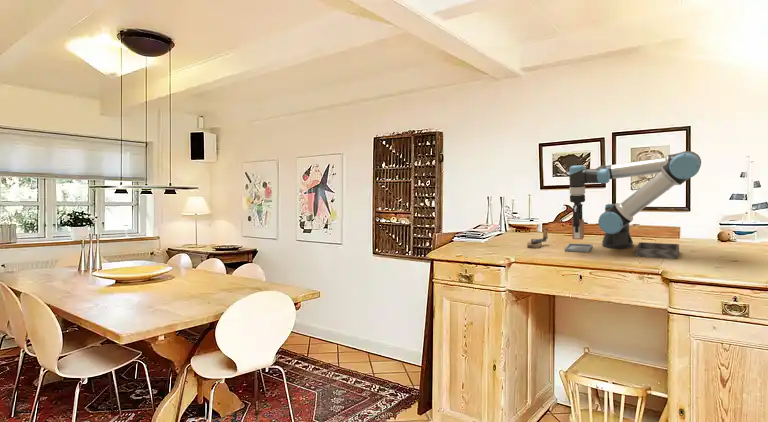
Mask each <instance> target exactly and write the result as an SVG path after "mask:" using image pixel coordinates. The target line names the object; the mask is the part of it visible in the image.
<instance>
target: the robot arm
mask: <svg viewBox="0 0 768 422" xmlns="http://www.w3.org/2000/svg"><path fill="white" fill-rule="evenodd" d="M701 167H702V159H701V156H699V155H698V154H697V153H696V152H694V151H691V150H686V151H681V152H676V153H674V154H667V155H666V156H664V157H659V158H652V159H651V158H650V159H645V160H639V161H631V162H630V161H629V162H624V163H623V162H621V163H617V164H610V165H605V164H604V165H600V166H598V167H596V168H585V166H584V165H582V164H581V165H580V164H579V165H571V166H570V167H569V170H568V171H569V174H568V176H569V177H568V178H569V188H568V190H569V202H571V203H574V204H573V206H572V221H573V226H574V238H580V226H579V219H584V217H583V203H584V202H586V196H585V194H586V184H601V185H602V184H609V182H610V180H615V179H623V178H630V177H639V176H648V175H655V176H654V177H652V178H651V179H650V180H649V181H648V182H646V183H645V184H644V185H642V186H641V187H640V188H639V189H638V190H636V191H634V193H632V194H631V195H630V196H628V197H627V198H626V199H624V200H623V201H622V202H616V203H607V204H605V206H604V212H603V213H602V214H600V216H599V218H598V227H599V228H600V230H601V231H603V233H604V236H603V237H602V238H603V239H602V241H601V243H602V244H601V246H602V247H603V248H607V249H613V250H614V249H615V250H623V249H630V248H633V247H634V241H633V238H632V236H631V233H630V223H631V222H632V221H633V220H634V216H635V215H637V214H638V213H639V212H641V211H643V210H644V209H645V208H646V207H648V206H649V205H651V204H652V203H653V202H654V201H655V200H657V199H658V198H660V197H661V196H662V195H664V194H665V193H666V192H667V191H669V190H671V189H672V188H673V187H674V186H681V185H682V184H683V183H685V182H686V181H688V180H689V179H691V178H693V177H695V176H696V175H697V174H698V173H699V171H700V170H701Z"/></svg>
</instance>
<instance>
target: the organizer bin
mask: <svg viewBox="0 0 768 422" xmlns="http://www.w3.org/2000/svg"><path fill="white" fill-rule="evenodd" d="M679 253H680V243H661V242H660V243H659V242H642V241H640V242H638V244H637V246H636V248H635V257H636V256H639V257H640V258H652V259H653V258H655V259H656V258H657V259H671V260H672V259H673V260H678V258H677V257H679ZM639 257H638V258H639Z"/></svg>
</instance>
